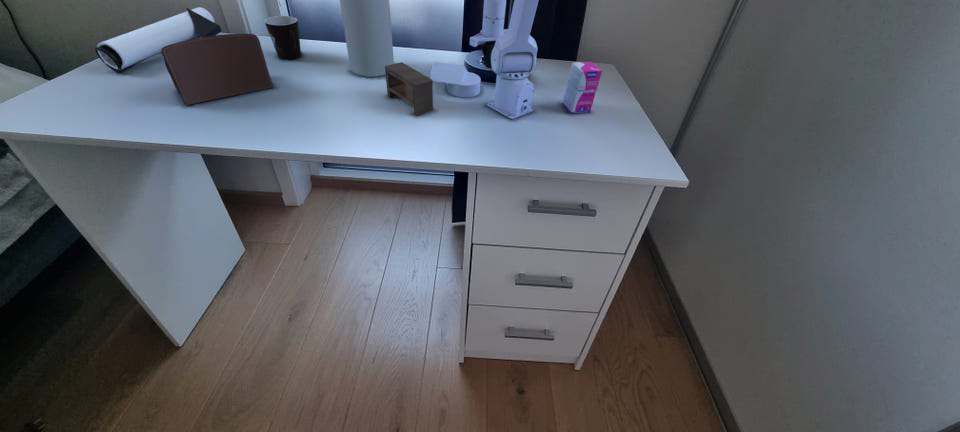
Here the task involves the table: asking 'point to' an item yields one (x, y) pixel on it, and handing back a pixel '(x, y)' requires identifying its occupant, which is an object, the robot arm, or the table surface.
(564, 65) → the table surface
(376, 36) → the cylinder vase
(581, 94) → the supplement box
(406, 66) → the walnut stand
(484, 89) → the table surface
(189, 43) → the letter holder
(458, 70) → the wedge on round base
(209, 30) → the diploma
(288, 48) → the coffee mug
